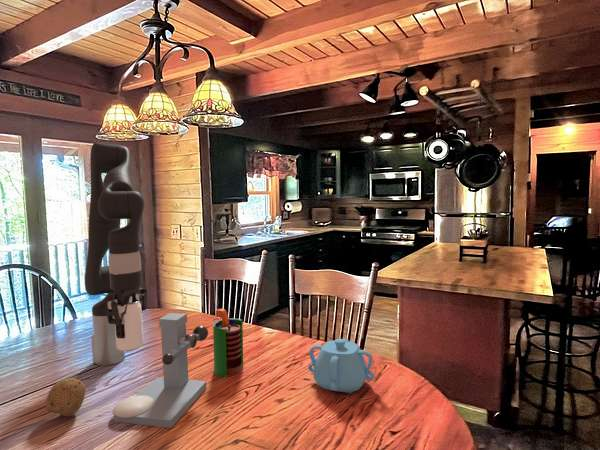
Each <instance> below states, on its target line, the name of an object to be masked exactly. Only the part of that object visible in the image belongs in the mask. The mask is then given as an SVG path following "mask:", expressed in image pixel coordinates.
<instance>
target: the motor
mask: <svg viewBox="0 0 600 450" xmlns="http://www.w3.org/2000/svg"><path fill="white" fill-rule="evenodd" d="M215 317H216V318H218V317H220V318H221V319H219V320H216V321H215V322H213V324H212V328H213V329H212V330H213V331H212V334H213V335H212V336H213V370H214V371H213V373H214V375H215V376H217V377H220V378H227V376H235V375H238V374H240V373H241V372H242V371H243V366H244V343H243V342H244V337H243V336H244V335H243V334H244V333H243V331H244V329H243V327H244V325H243V319H241V318H229V315H228V312H227V310H226V309H224V308H218V309H216V310H215Z"/></svg>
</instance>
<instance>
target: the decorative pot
mask: <svg viewBox="0 0 600 450" xmlns="http://www.w3.org/2000/svg"><path fill="white" fill-rule="evenodd" d="M314 350H320V351H319V352H318V354H317V357H316V358H315V355H314ZM308 354H309V358H310V360H311V363H309V365H308V370H309V371H310V372H311V373H313V379H314V381H315V382H316V384H317V385H318V386H319V387H321V388H322V389H323V390H326V391H332V392H333V391H334V392H340V393H341V392H343V393H346V394H353V393H354V392H356V391H358V390H360V389H361V387H363V385H364V383H365V382H366V381H372V380H374V378H375V373H374V372H373V371H372V370H371V368H372V365H373V355H372V353H370V352H369V351H367V350H365V349H361V348H360V346H359V344H357V343H355V342H352V341H350V340H349V339H347V338H337V339H335V340H328V341H326V342H325V343H324V344H323V345H320V344H315V345H312V346H311V348H310V349H309V351H308ZM364 355H365V356H366V357H367V358H368V363H367V362H366V359H365V356H364ZM369 375H370V376H369Z"/></svg>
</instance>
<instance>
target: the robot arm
mask: <svg viewBox="0 0 600 450" xmlns="http://www.w3.org/2000/svg"><path fill="white" fill-rule="evenodd" d="M89 157H90V158H89V159H90V160H89V161H90V163H89V164H90V165H89V166H90V167H89V168H90V201H89V202H90V203H89V213H88V244H87V245H88V246H87V256H86V257H87V258H86V263H85V264H86V265H85V272H84V289H85V291H86V293H87V294H88V295H89V296H99V295H100V296H101V295H104V294H106V295H105V297H104V298H103V299H101V300H99V301H98V302H95V304H94V305H92V309H91V313H92V314H91V315H92V328H93V331H92V332H93V334H92V335H91V350H92V351H91V353H92V363H93V364H94V363H95V364H96V365H98V366H102V367H104V366H112V365H116V364H118V363H120V362H123V360H125V354H126V351H119V350H118V349H117V347H116V336H117V338H122V339H123V338H125V327H124V323H125V320H124V315H125V314H126V311H127V307H128V305H126V304H131V303H132V302H133V301H136V302H137V301H138V300H139V303H140V305H141V311H142V314H143V313H144V311H146V310H147V301H148V299H147V298H148V296H147V295H148V289H147V288H145V287H142V286H143V275H142V273H143V271H142V258H141V254H140V243H139V241H140V238H139V235H140V234H139V231H140V226H141V225H140V224H141V221H142V217H143V214H144V209H145V200H144V197H143V194H141V193H140V192H139V191H135V190H134V189H133V184H132V180H131V176H132V175H131V173H132V168H131V167H132V164H131V163H132V161H131V160H132V159H131V152H130V149H129V148H128V147H127V146H124V145H120V144H115V143H104V142H94V143H92V146H91V148H90V156H89ZM102 174H105V176H104V178H103V177H102ZM128 219H129V222H128V223H127V224H126V225H125V226H123V227H121V220H128ZM107 252H108V254H109V256H108V265H106V266H102V262H103V260H104V257H105V255H106V254H107ZM124 305H126V306H125V311H124V312H123V313H121V314H122V316H121V319H120V317H119V311H118V307H119V306H122V307H123V306H124ZM115 326H116V335H115Z"/></svg>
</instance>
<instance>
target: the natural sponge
mask: <svg viewBox="0 0 600 450" xmlns="http://www.w3.org/2000/svg"><path fill="white" fill-rule="evenodd" d="M85 396H86V385H85V384H84V383H83V382H82V381H81V380H80V379H77V378H74V377H68V378H63V379H60V380H59V381H58V382H56V383H54V385H52V386H51V388H50V390H49V392H48V395H47V397H46V399H45V403H44V404H45V405H44V406H45V409H46V411H47V412H49V413H51V414H57V415H61V416H62V417H67V418H69V417H72V416H74V415H75V414H76V413H77V412H78V411H79V410H80V408H81V407H82V405H83V402H84V400H85Z"/></svg>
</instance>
